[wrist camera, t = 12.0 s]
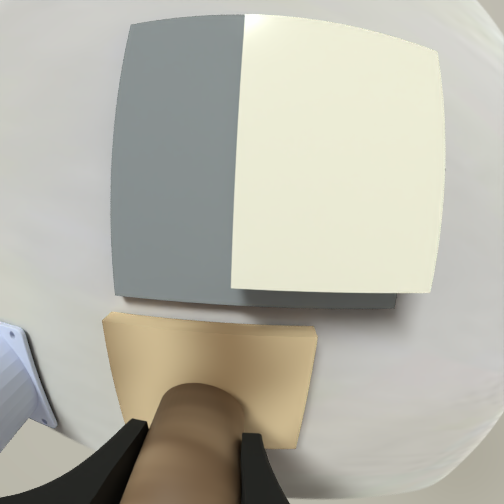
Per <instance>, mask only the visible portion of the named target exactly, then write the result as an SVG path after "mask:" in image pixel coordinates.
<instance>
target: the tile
mask: <svg viewBox="0 0 504 504" xmlns="http://www.w3.org/2000/svg"><path fill="white" fill-rule="evenodd" d="M444 182H445V119H444V103H443V92H442V82H441V74H440V66H439V60H438V53H437V51H434V50H431V49H429V48H426V47H423V46H421V45H418V44H415V43H412V42H409V41H406V40H403V39H399V38H396V37H393V36H389V35H386V34H382V33H379V32H375V31H371V30H367V29H362V28H358V27H353V26H349V25H344V24H338V23H333V22H327V21H321V20H314V19H306V18H298V17H288V16H276V15H257V14H245V24H244V37H243V51H242V65H241V80H240V96H239V112H238V130H237V148H236V168H235V190H234V213H233V239H232V268H231V288H234V289H254V290H277V291H304V292H343V293H430V291H431V286H432V281H433V276H434V270H435V264H436V258H437V252H438V245H439V238H440V230H441V221H442V211H443V199H444Z"/></svg>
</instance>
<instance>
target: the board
mask: <svg viewBox="0 0 504 504" xmlns="http://www.w3.org/2000/svg"><path fill="white" fill-rule="evenodd" d="M102 323H103V329H104V335H105V341H106V347H107V352H108V357H109V362H110V367H111V371H112V376H113V380H114V384H115V388H116V392H117V396H118V400H119V404H120V408H121V411H122V415H123V418H124V422H125V424H126V423H127V422H128V421H129V420H130V419H132V418H134V419H139V420H144V421H147V423H148V428H150V425H151V423H152V420H153V418H154V416H155V413H156V411H157V408H158V406H159V404H160V401H161V399H162V397H163V395H164V394H165V393H166V392H167V391H168V390H169V389H171V388H172V387H174V386H177V385H180V384H185V383H203V384H208V385H212V386H215V387H218V388H220V389H222V390H224V391H226V392H228V393H229V394H231V395H232V396H233V397H234V398H235V399H236V400H237V401H238V402H239V403H240V405H241V407H242V409H243V411H244V417H245V418H244V433H260V434H261V435H262V439H263V444H264V448H265V449H296V445H297V441H298V437H299V432H300V428H301V423H302V419H303V414H304V409H305V405H306V400H307V395H308V390H309V384H310V379H311V374H312V368H313V363H314V357H315V351H316V345H317V339H318V337H317V334H316V332H315V329H314V327H313V326H281V325H255V324H235V323H219V322H205V321H192V320H181V319H170V318H160V317H151V316H142V315H133V314H125V313H118V312H111V313H110V314H109V315H108V316H106V317H105V318H104V319H103V320H102Z"/></svg>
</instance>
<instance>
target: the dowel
mask: <svg viewBox="0 0 504 504" xmlns="http://www.w3.org/2000/svg"><path fill="white" fill-rule="evenodd" d="M244 418H245V417H244V411H243V409H242V407H241V405H240V403H239V402H238V401H237V400H236V399H235V398H234V397H233V396H232V395H231V394H229V393H228V392H226V391H224V390H222V389H220V388H218V387H215V386H212V385H208V384H203V383H185V384H180V385H177V386H174V387H172V388H171V389H169V390H168V391H167V392H166V393H165V394H164V395H163V397H162V399H161V401H160V404H159V406H158V408H157V411H156V413H155V416H154V418H153V420H152V423H151V425H150V428H149V430H148V433H147V435H146V438H145V440H144V443H143V445H142V448H141V450H140V453H139V455H138V458H137V460H136V463H135V465H134V468H133V470H132V473H131V475H130V478H129V480H128V483H127V486H126V488H125V491H124V493H123V496H122V499H121V501H120V504H241V488H242V478H241V444H242V433H244Z"/></svg>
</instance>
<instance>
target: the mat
mask: <svg viewBox="0 0 504 504" xmlns="http://www.w3.org/2000/svg"><path fill="white" fill-rule="evenodd" d="M244 24H245V15H207V16H192V17H181V18H171V19H163V20H156V21H149V22H143V23H138V24H132V25H131V26H130V31H129V35H128V40H127V44H126V49H125V54H124V59H123V65H122V71H121V77H120V83H119V90H118V97H117V105H116V114H115V124H114V135H113V148H112V165H111V246H112V264H113V278H114V289H115V295H117V296H126V297H136V298H146V299H156V300H167V301H179V302H192V303H206V304H221V305H238V306H258V307H284V308H325V309H387V308H394V307H395V303H396V298H397V293H343V292H304V291H277V290H254V289H234V288H231V268H232V239H233V213H234V190H235V168H236V148H237V130H238V112H239V96H240V80H241V65H242V51H243V37H244Z"/></svg>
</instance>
